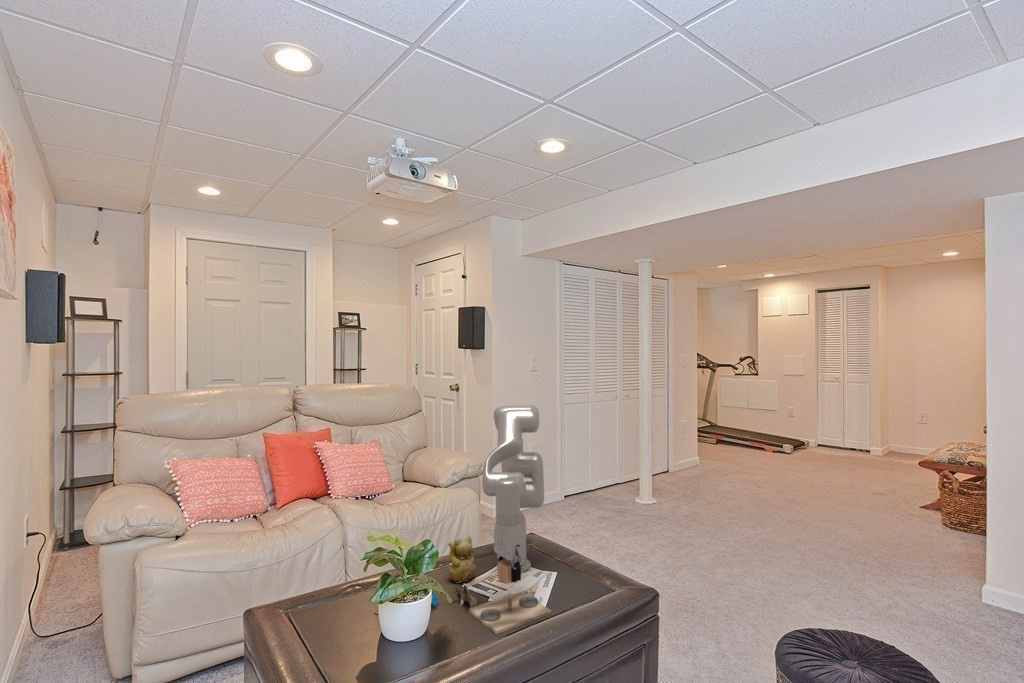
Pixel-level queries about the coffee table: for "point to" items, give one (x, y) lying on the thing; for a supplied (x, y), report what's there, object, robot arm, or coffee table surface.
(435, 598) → the gear
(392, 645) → the coffee table surface
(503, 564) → the gear wheel
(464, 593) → the eagle figurine
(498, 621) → the board
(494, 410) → the robot arm
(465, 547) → the decorative figurine
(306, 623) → the coffee table surface
